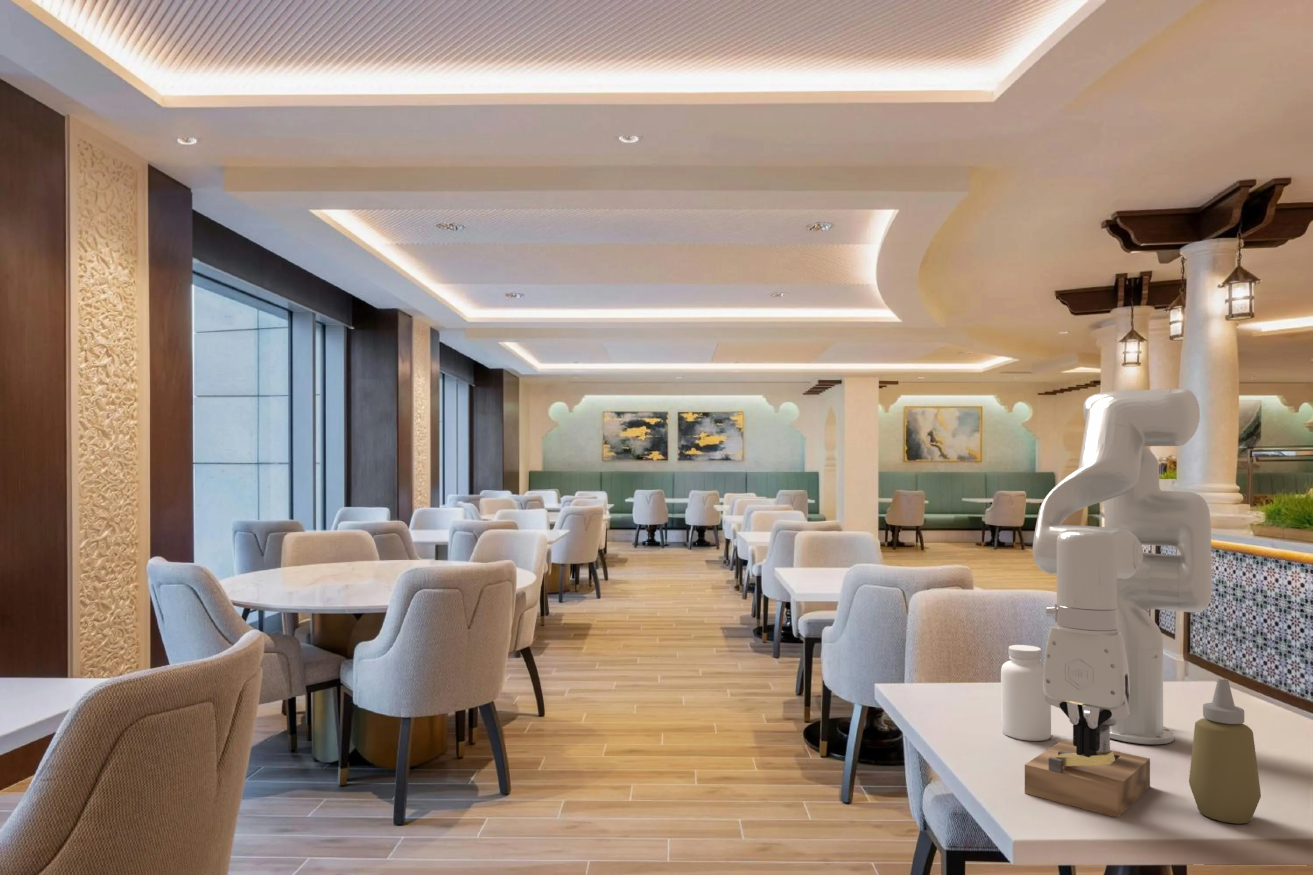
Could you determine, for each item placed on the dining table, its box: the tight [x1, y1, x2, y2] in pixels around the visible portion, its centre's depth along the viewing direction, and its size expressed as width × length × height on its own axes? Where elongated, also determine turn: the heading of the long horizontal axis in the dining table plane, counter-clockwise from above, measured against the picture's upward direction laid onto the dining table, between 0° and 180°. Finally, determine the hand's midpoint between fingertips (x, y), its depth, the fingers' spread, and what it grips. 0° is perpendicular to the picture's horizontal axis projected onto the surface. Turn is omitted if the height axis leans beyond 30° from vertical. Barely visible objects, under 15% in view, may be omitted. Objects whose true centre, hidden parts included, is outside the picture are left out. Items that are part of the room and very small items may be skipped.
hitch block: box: [1024, 739, 1151, 819], centre depth 123 cm, size 16×12×6 cm
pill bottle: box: [1000, 644, 1052, 742], centre depth 149 cm, size 8×8×15 cm
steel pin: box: [1083, 705, 1116, 752], centre depth 126 cm, size 5×5×10 cm
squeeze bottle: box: [1188, 678, 1262, 825], centre depth 115 cm, size 8×8×18 cm
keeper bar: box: [1055, 750, 1115, 766], centre depth 119 cm, size 2×7×1 cm, turn 47°
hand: (1086, 753), depth 118 cm, fingers closed
